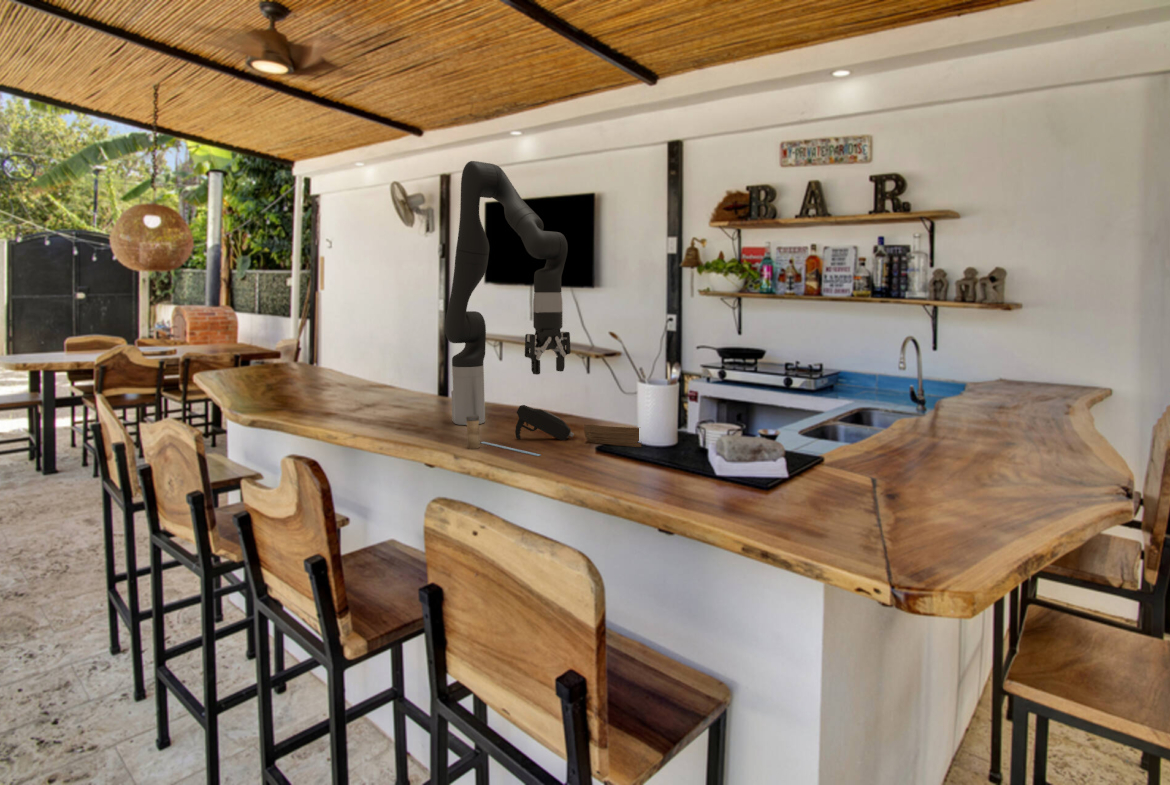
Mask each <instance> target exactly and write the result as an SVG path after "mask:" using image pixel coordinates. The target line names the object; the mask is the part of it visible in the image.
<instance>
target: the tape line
mask: <svg viewBox="0 0 1170 785" xmlns="http://www.w3.org/2000/svg"><path fill="white" fill-rule="evenodd" d="M479 444H483V445H487V446H490V447H491V446H492V447H496V448H500V449H505V450H508V451H512V452H513V451H514V452H518V453H522V454H527V455H531V456H535V457H541V456H542V455H541V454H539V453H535V452H531V451H526V450H523V449H518V448H512V447H508V446H505V445H501V444H496V443H492V442H487V441H481V442H480V441H479Z"/></svg>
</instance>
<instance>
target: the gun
mask: <svg viewBox="0 0 1170 785" xmlns="http://www.w3.org/2000/svg"><path fill="white" fill-rule="evenodd" d="M516 414H517V417H518V421H517V423H516V426H515V432H514V433H515V439H517V440H519V441H520V440H521V439H522V437H521V432H522V428H524V429H526V430H528V431H530V432H535V431H537V429H538V430H539V431H542V432H544V433H545V434H548V435H550V436H552V437H554V438H556V439H557V440H560V441H566V440H567V439H569V437H571V438H573V437H574V436H575V433H574V432H572V429H571V428H570V427H569V425H568V424H567V423H566V422H565V421H564V420H562V419H561V417H559V416H557V415H555V414H553V413H551V412H549V411H547V410H543V409H540V408H532V407H530V406H528V405H525V404H522V405H519V406H518V408H517V411H516ZM524 424H526V425H524ZM529 426H531V427H533V429H532V428H531V427H529Z"/></svg>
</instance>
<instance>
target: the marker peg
mask: <svg viewBox="0 0 1170 785" xmlns="http://www.w3.org/2000/svg"><path fill="white" fill-rule="evenodd" d="M466 420H467V425H466V437H467V438H466V440H467V441H466V442H467V443H466V444H467V446H466V447H467V449H468V450H476V449H479V448H480V444H481V443H480V424H479V416H477V415H470V416H466Z"/></svg>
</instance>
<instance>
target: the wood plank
mask: <svg viewBox="0 0 1170 785" xmlns="http://www.w3.org/2000/svg"><path fill="white" fill-rule="evenodd" d="M639 428H640V427H627V426H626V427H625V426H624V427H623V426H604V425H597V424H585V423H584V425H583V431H584V437H585V438H586V442H588V443H589V442H591V443H596V444H601V445H610V446H621V447H622V446H623V447H632V448H633V447H634V448H642V442H641V443H637V442H638V441H639Z"/></svg>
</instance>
